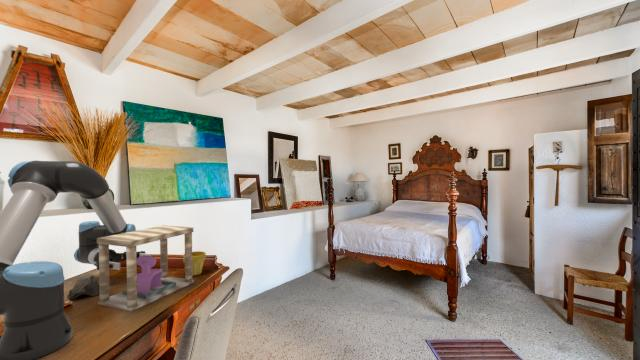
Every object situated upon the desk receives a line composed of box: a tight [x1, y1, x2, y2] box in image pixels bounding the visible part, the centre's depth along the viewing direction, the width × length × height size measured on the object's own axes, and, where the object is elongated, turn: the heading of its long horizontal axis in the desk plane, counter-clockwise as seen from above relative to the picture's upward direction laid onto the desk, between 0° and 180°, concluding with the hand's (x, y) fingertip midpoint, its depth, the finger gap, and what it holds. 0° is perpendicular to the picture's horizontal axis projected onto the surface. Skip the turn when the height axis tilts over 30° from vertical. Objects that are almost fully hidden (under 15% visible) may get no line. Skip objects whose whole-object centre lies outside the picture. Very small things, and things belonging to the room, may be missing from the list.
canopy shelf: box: [97, 225, 195, 312], centre depth 115 cm, size 29×18×25 cm, turn 160°
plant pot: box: [182, 250, 207, 276], centre depth 137 cm, size 10×10×10 cm
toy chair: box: [137, 255, 162, 294], centre depth 115 cm, size 8×9×15 cm
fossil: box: [66, 273, 100, 300], centre depth 113 cm, size 11×9×10 cm
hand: (135, 261), depth 118 cm, fingers open, 13 cm apart
